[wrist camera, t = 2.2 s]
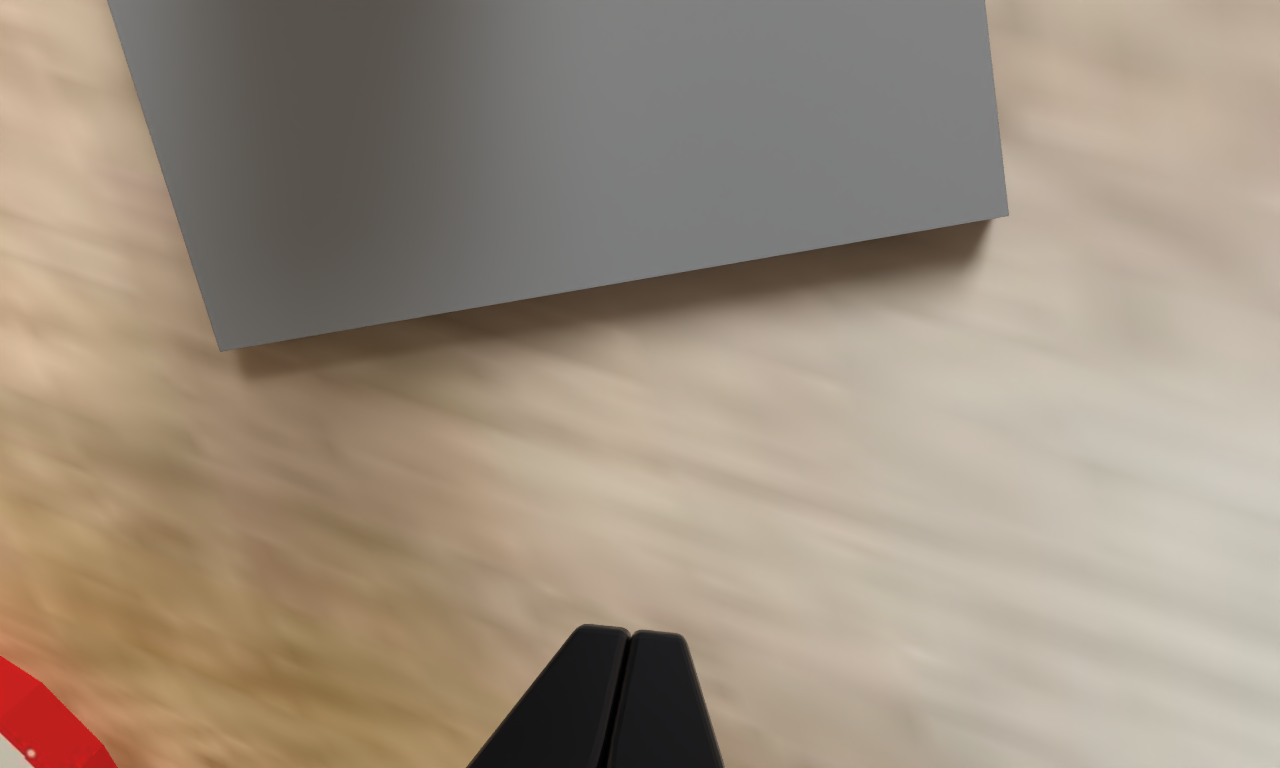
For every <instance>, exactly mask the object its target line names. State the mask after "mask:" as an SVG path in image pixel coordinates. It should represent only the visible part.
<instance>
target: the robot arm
mask: <svg viewBox="0 0 1280 768" xmlns="http://www.w3.org/2000/svg"><path fill="white" fill-rule="evenodd" d="M466 768H725V766H724V763H723V759H722V756H721V753H720V749H719V746H718V743H717V740H716V736H715V733H714V730H713V726H712V723H711V720H710V716H709V713H708V710H707V706H706V703H705V700H704V697H703V693H702V690H701V687H700V683H699V680H698V677H697V673H696V670H695V667H694V664H693V660H692V657H691V654H690V650H689V647H688V644H687V642H686V640H685V638H684V637H683V636H682V635H680V634H678V633H671V632H661V631H652V630H638V631H636V632H635V633H634V634H633V635H632V637H631V634H630V632H629V631H628V630H627V629H625V628H623V627H614V626H604V625H595V624H583V625H581V626H579V627H578V628H577V629H576V630H575V631H574V632H573V633H572V634H571V635H570V636H569V638H568V639H567V640H566V642H565V643H564V644H563V645H562V647H561V648H560V649H559V650H558V652H557V653H556V654H555V655H554V657H553V658H552V659H551V661H550V662H549V663H548V664H547V666H546V667H545V668H544V669H543V671H542V672H541V673H540V674H539V676H538V677H537V678H536V680H535V681H534V682H533V683H532V685H531V686H530V687H529V688H528V690H527V691H526V692H525V694H524V695H523V696H522V697H521V699H520V700H519V701H518V702H517V704H516V705H515V706H514V707H513V709H512V710H511V711H510V713H509V714H508V715H507V716H506V718H505V719H504V720H503V721H502V723H501V724H500V725H499V726H498V728H497V729H496V730H495V732H494V733H493V734H492V735H491V737H490V738H489V739H488V740H487V742H486V743H485V744H484V745H483V747H482V748H481V749H480V751H479V752H478V753H477V754H476V756H475V757H474V758H473V759H472V761H471V762H470V763H469V764H468V766H467V767H466Z"/></svg>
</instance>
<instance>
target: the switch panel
mask: <svg viewBox="0 0 1280 768" xmlns="http://www.w3.org/2000/svg"><path fill="white" fill-rule="evenodd" d="M107 1H108V4H109V7H110V11H111V14H112V17H113V20H114V23H115V26H116V29H117V32H118V35H119V39H120V42H121V45H122V48H123V51H124V54H125V57H126V60H127V63H128V67H129V70H130V73H131V76H132V79H133V82H134V85H135V88H136V91H137V95H138V98H139V101H140V104H141V107H142V110H143V113H144V116H145V119H146V123H147V126H148V129H149V132H150V135H151V138H152V141H153V144H154V147H155V151H156V154H157V157H158V160H159V163H160V166H161V169H162V172H163V175H164V179H165V182H166V185H167V188H168V191H169V194H170V197H171V200H172V203H173V207H174V210H175V213H176V216H177V219H178V222H179V225H180V228H181V231H182V235H183V238H184V241H185V244H186V247H187V250H188V253H189V256H190V259H191V263H192V266H193V269H194V272H195V275H196V278H197V281H198V284H199V287H200V291H201V294H202V297H203V300H204V303H205V306H206V309H207V312H208V315H209V319H210V322H211V325H212V328H213V331H214V334H215V337H216V340H217V343H218V347H219V350H220V352H222V351H227V350H233V349H239V348H245V347H251V346H256V345H262V344H268V343H274V342H280V341H285V340H291V339H297V338H303V337H309V336H314V335H320V334H326V333H332V332H338V331H344V330H349V329H355V328H361V327H367V326H373V325H378V324H384V323H390V322H396V321H402V320H407V319H413V318H419V317H425V316H431V315H436V314H442V313H448V312H454V311H460V310H465V309H471V308H477V307H483V306H489V305H494V304H500V303H506V302H512V301H518V300H523V299H529V298H535V297H541V296H547V295H552V294H558V293H564V292H570V291H576V290H581V289H587V288H593V287H599V286H605V285H611V284H616V283H622V282H628V281H634V280H640V279H645V278H651V277H657V276H663V275H669V274H674V273H680V272H686V271H692V270H698V269H703V268H709V267H715V266H721V265H727V264H732V263H738V262H744V261H750V260H756V259H761V258H767V257H773V256H779V255H785V254H790V253H796V252H802V251H808V250H814V249H819V248H825V247H831V246H837V245H843V244H849V243H854V242H860V241H866V240H872V239H878V238H883V237H889V236H895V235H901V234H907V233H912V232H918V231H924V230H930V229H936V228H941V227H947V226H953V225H959V224H965V223H970V222H976V221H982V220H988V219H994V218H999V217H1005V216H1009V212H1008V203H1007V194H1006V185H1005V176H1004V167H1003V158H1002V149H1001V140H1000V131H999V122H998V113H997V105H996V96H995V87H994V78H993V69H992V60H991V51H990V42H989V33H988V24H987V15H986V6H985V0H107Z"/></svg>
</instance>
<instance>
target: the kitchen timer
mask: <svg viewBox="0 0 1280 768" xmlns="http://www.w3.org/2000/svg"><path fill="white" fill-rule="evenodd" d="M0 768H117V766H116V764H115V763H114V761H113V760H112V758H111V756H110V755H109V753H108V751H107V750H106V748H105V747H104V745H103V744H102V743H101V742H100V741H99V740H98V739H97V738H96V737H95V736H94V735H93V734H92V733H91V732H90V731H89V730H88V729H87V728H86V727H85V726H84V725H83V724H82V723H81V722H80V721H79V720H78V719H77V718H76V717H75V716H74V715H73V714H72V713H71V712H70V711H69V710H68V709H67V708H66V707H65V706H64V705H63V704H62V703H61V702H60V701H59V700H58V699H57V698H56V697H55V696H54V695H53V694H52V693H51V692H50V690H49V689H48V688H47V687H46V686H45V685H44V684H43V683H42V682H40V681H39V680H37V679H35V678H34V677H32V676H31V675H29V674H28V673H26V672H25V671H23V670H22V669H20V668H18V667H17V666H15V665H14V664H12V663H11V662H9V661H8V660H6V659H5V658H3V657H2V656H0Z"/></svg>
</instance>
